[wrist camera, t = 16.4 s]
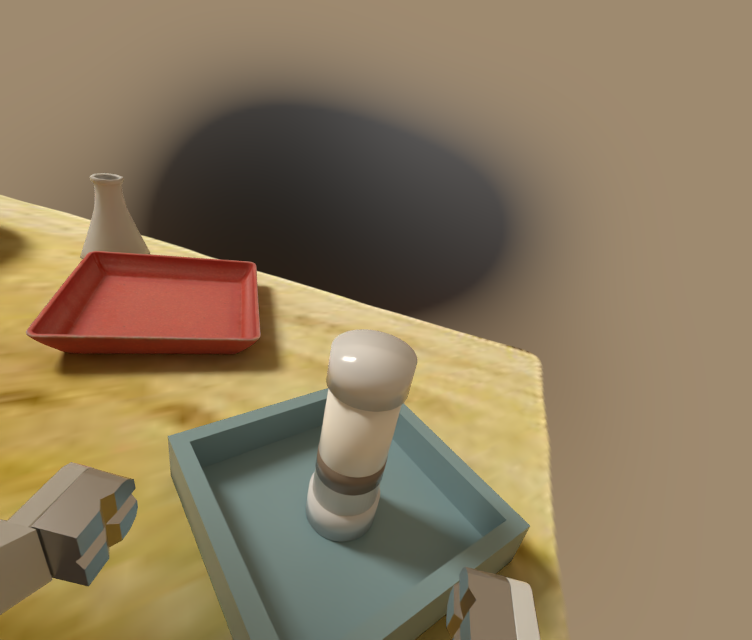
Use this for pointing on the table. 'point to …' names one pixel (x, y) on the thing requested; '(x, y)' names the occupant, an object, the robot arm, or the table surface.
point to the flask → (112, 220)
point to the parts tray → (324, 556)
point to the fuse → (357, 430)
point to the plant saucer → (152, 306)
